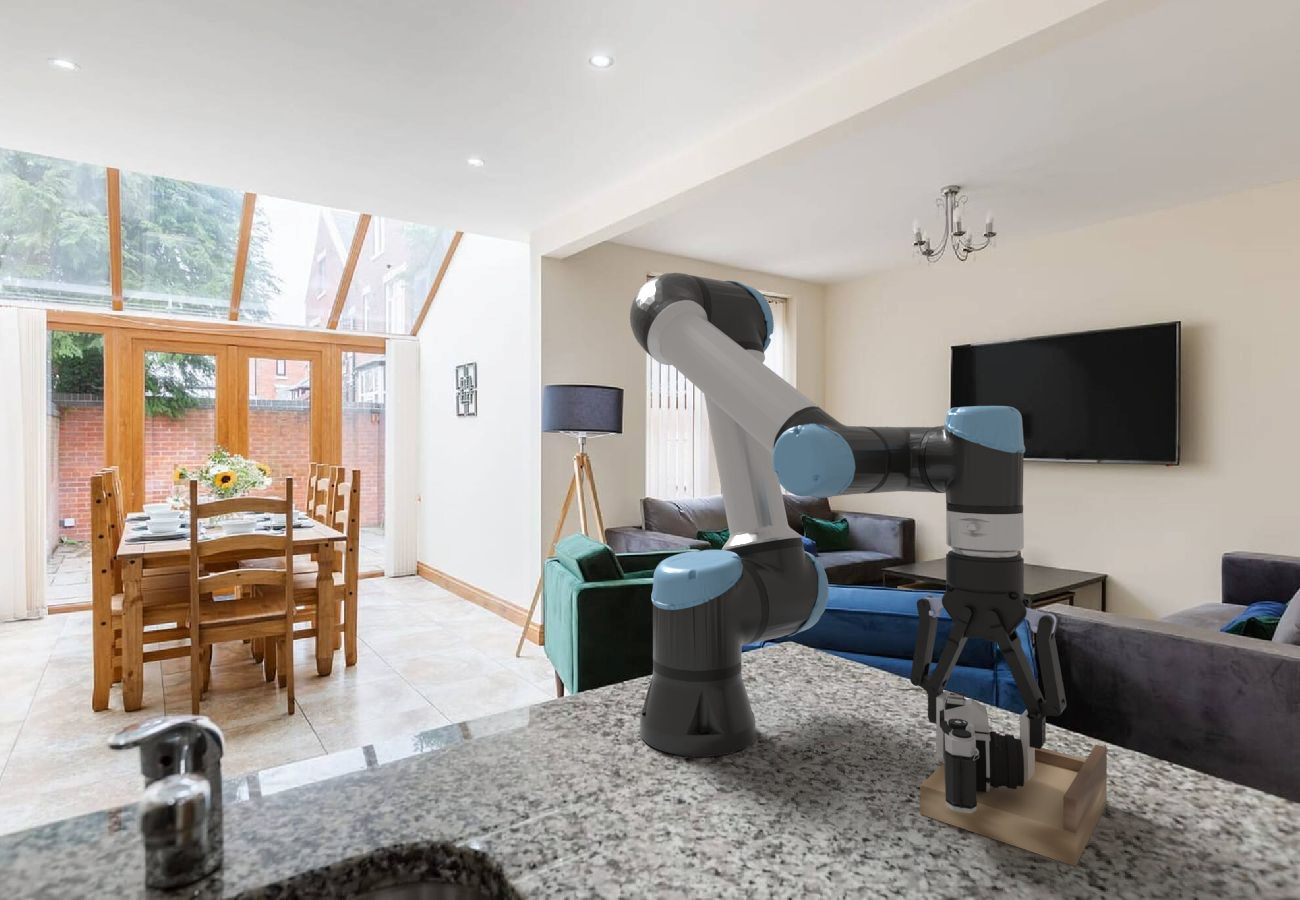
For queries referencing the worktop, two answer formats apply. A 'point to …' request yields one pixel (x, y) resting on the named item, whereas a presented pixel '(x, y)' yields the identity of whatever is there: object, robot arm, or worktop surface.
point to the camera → (976, 754)
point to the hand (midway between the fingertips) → (984, 764)
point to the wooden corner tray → (1034, 805)
